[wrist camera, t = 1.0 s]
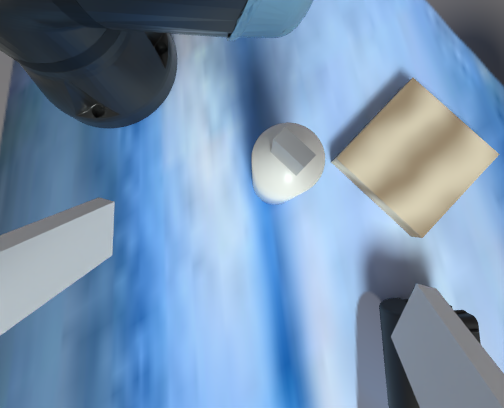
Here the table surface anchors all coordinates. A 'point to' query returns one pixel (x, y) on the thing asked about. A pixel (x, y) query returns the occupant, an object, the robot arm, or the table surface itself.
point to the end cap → (398, 385)
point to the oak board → (415, 159)
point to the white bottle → (286, 162)
